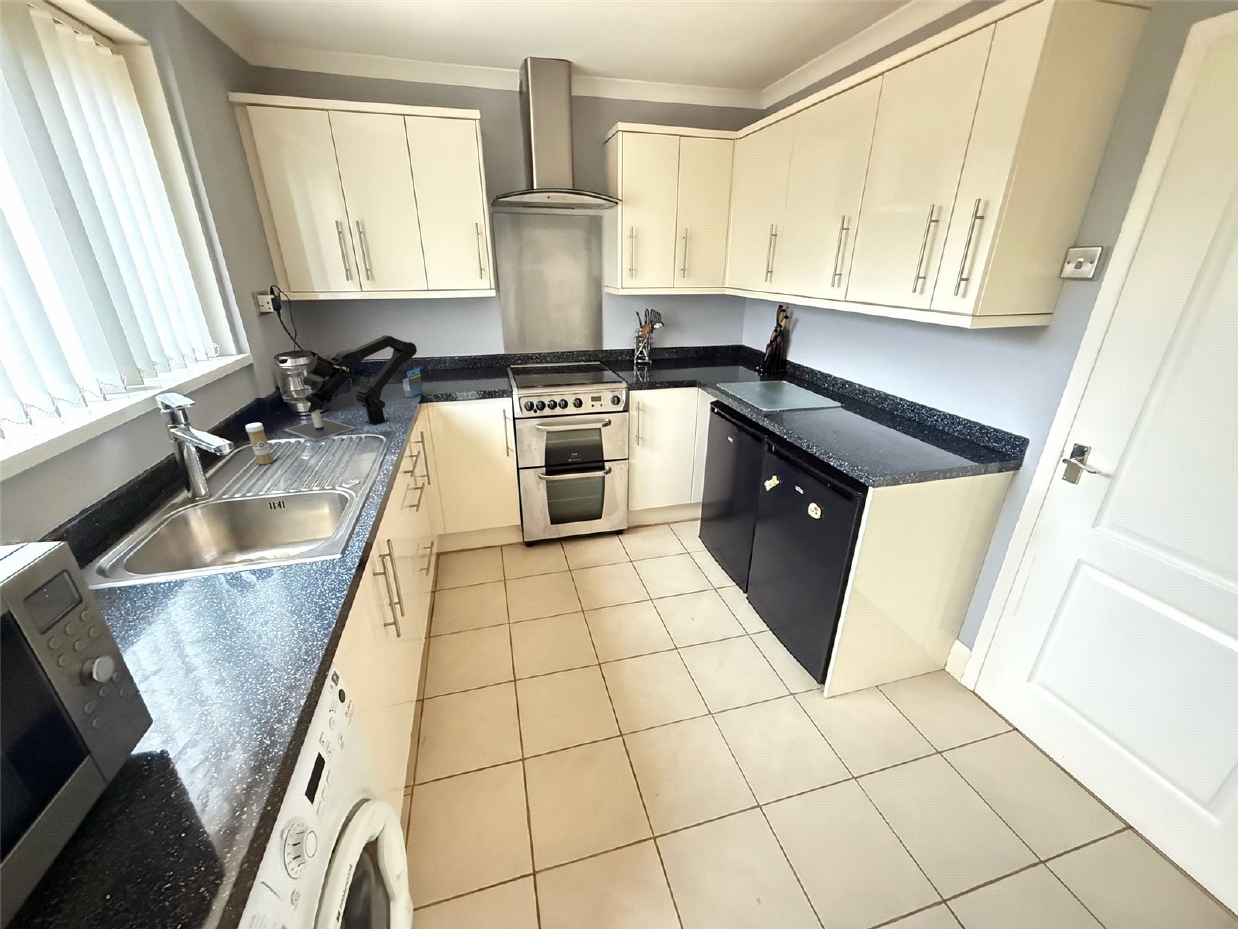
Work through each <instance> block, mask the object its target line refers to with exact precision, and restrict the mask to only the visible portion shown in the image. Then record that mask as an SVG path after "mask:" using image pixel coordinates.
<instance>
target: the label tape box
mask: <svg viewBox="0 0 1238 929" xmlns="http://www.w3.org/2000/svg"><path fill="white" fill-rule="evenodd" d="M406 374H407V377H406V378H404V379H402V386H403V391H404V397H405V398H413V397H414V398H415V397H416V396H419V395H421V394H423V393H424V391H423V384H422V378H421V372H420V368H419V367H418V368H415V369H412V370H409V371H407V372H406Z"/></svg>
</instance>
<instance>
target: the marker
mask: <svg viewBox="0 0 1238 929" xmlns="http://www.w3.org/2000/svg"><path fill="white" fill-rule="evenodd" d="M313 392H314V391H309V392H305V394H304V395H305V398H306V397H307V395H309V394H310V393H313ZM306 402H307V404H308V408H309V407H310V404H311V403H309V402H308V401H306ZM310 415H311V419H312V422H313V423H314V426H315V429H322V428H324V426H323V422H322V419H323V418H322V415H321V411H320V409H318V410H316V411H314V412H312V413H310Z"/></svg>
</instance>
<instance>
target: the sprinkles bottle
mask: <svg viewBox="0 0 1238 929" xmlns="http://www.w3.org/2000/svg"><path fill="white" fill-rule="evenodd" d="M245 431H246V432H247V435H248V438H249V440H250V441H249V442H250V444H251V448H252V450H253V454H254V455H255V458H256V461H257V464H258V465H267V464H271V463H273V461H274V458H273V455H272V453H271V448H270V445H269V442H268V439H267V436H266V434H265V429H264V425H263V423H261V422H252V423H248V424H246V425H245Z"/></svg>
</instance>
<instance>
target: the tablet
mask: <svg viewBox="0 0 1238 929" xmlns="http://www.w3.org/2000/svg"><path fill="white" fill-rule="evenodd" d="M322 422H323V426H324V428H322V429H315V426H314V423H313V421H309V422H306V423H303V424H299V425H295V426H291V427H288V428H284V429H283V432H284V433H287V434H290V435H293V436H296V437H300V438H302V439H305V440H308V441H311V442H314V443H317V442H320V441H325V440H327V439H330V438H332V437H336V436H339V435H342V434H345V433H349V432H351V431H354V430H356V429H357V428H356V427H355V426H351V425H348V424H344V423H342V422H338V421H334V420H331V419H327V418H322Z"/></svg>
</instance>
